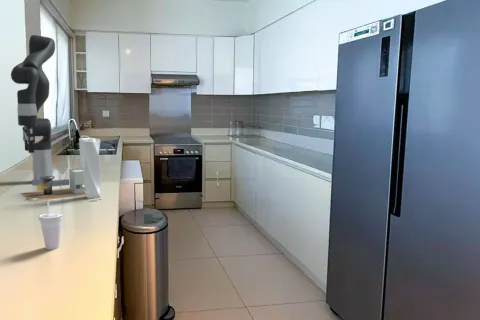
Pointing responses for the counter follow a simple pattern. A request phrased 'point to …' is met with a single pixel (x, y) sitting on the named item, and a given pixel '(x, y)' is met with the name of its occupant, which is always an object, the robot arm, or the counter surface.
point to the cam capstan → (48, 183)
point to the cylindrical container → (82, 153)
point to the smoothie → (51, 228)
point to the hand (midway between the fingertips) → (29, 151)
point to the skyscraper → (92, 167)
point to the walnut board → (55, 194)
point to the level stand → (77, 181)
